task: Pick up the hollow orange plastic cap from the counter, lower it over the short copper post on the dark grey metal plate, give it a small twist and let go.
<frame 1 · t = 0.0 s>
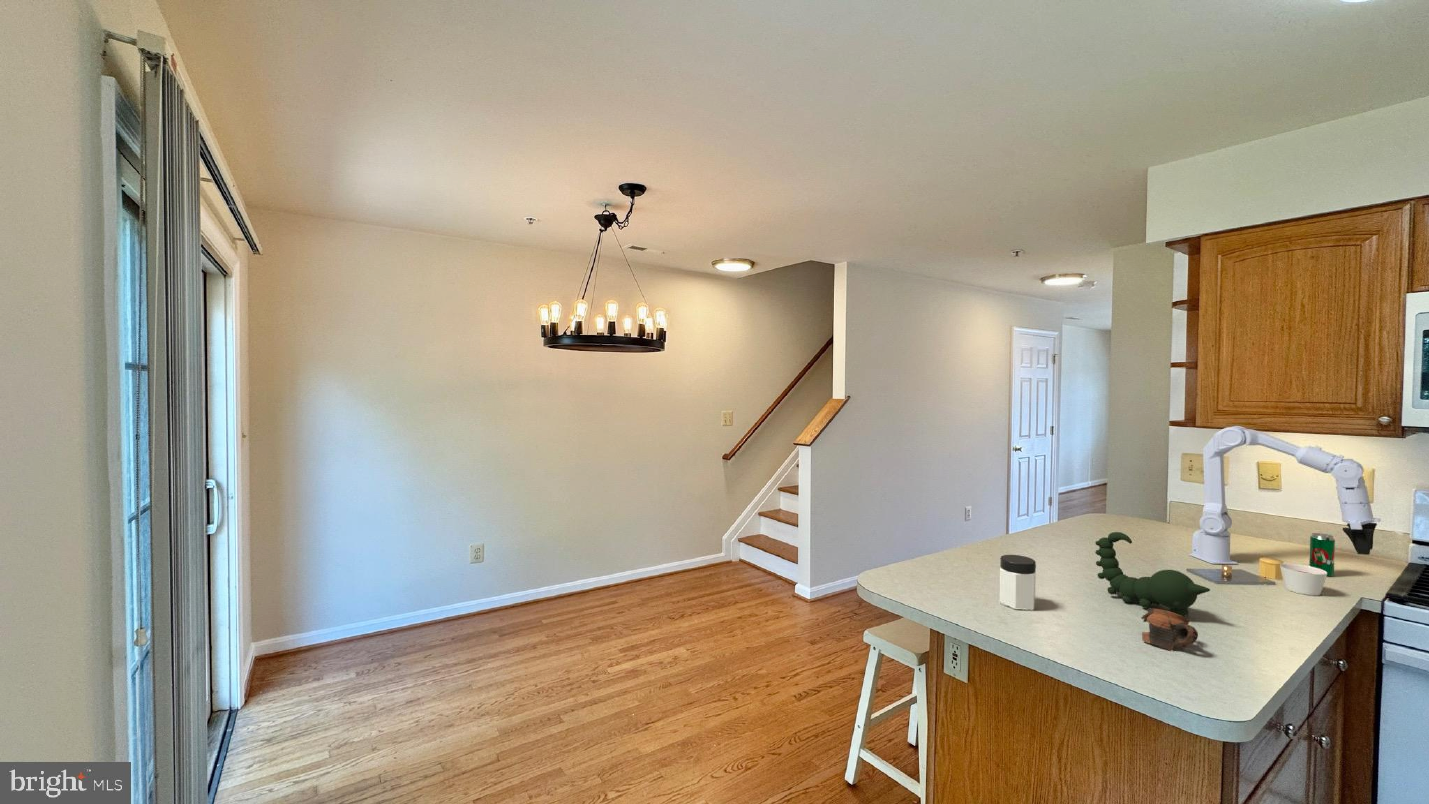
hand: (1365, 551, 155), 11 cm above the counter, tool pointing down, fingers open, 7 cm apart
toy figurine: (1148, 607, 144), on the counter
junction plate: (1229, 577, 165), on the counter
soda can: (1321, 574, 168), on the counter
candle: (1302, 592, 154), on the counter
orange cap: (1270, 576, 166), on the counter
jar: (1017, 605, 146), on the counter
pottery mug: (1169, 645, 124), on the counter
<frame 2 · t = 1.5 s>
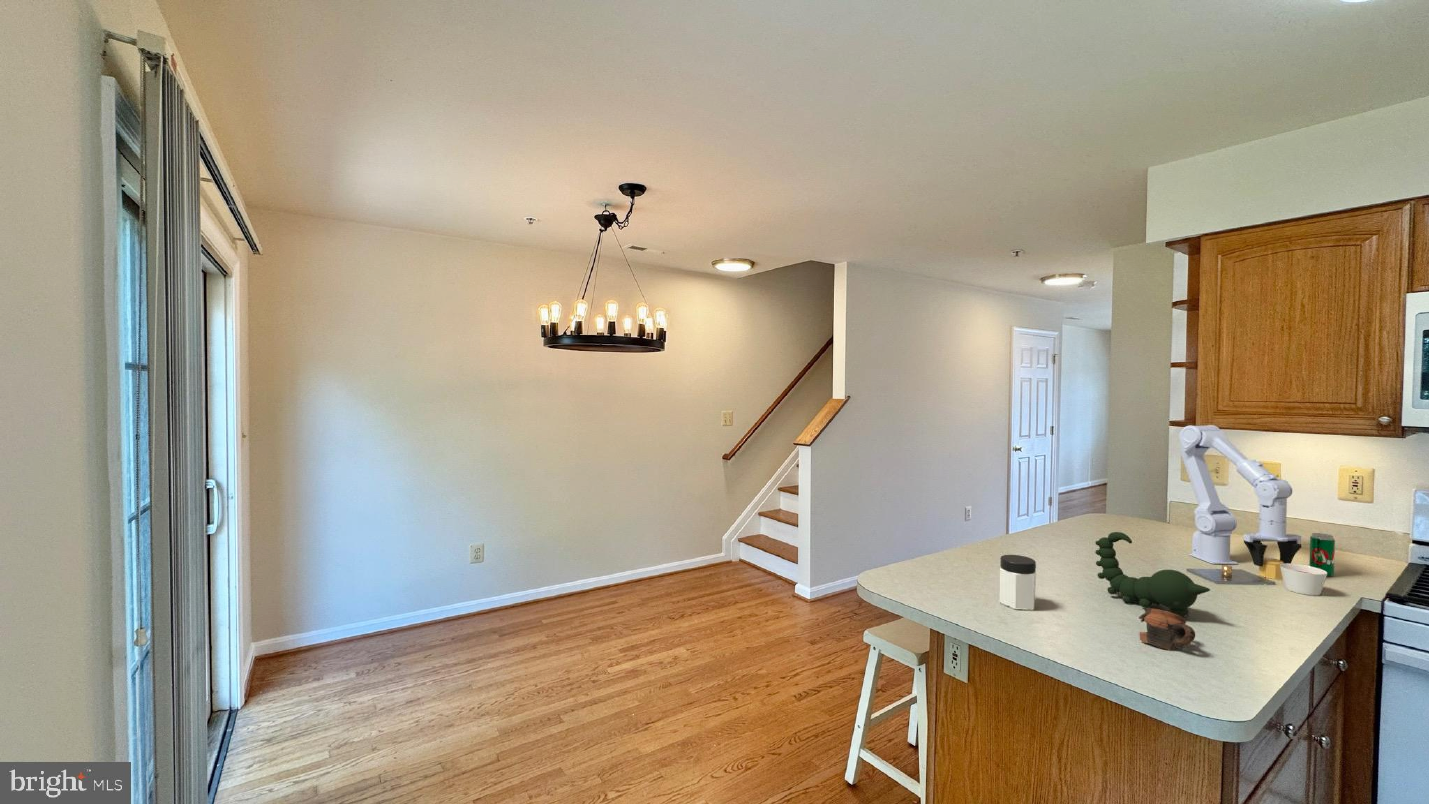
hand: (1271, 565, 166), 3 cm above the counter, tool pointing down, fingers open, 7 cm apart
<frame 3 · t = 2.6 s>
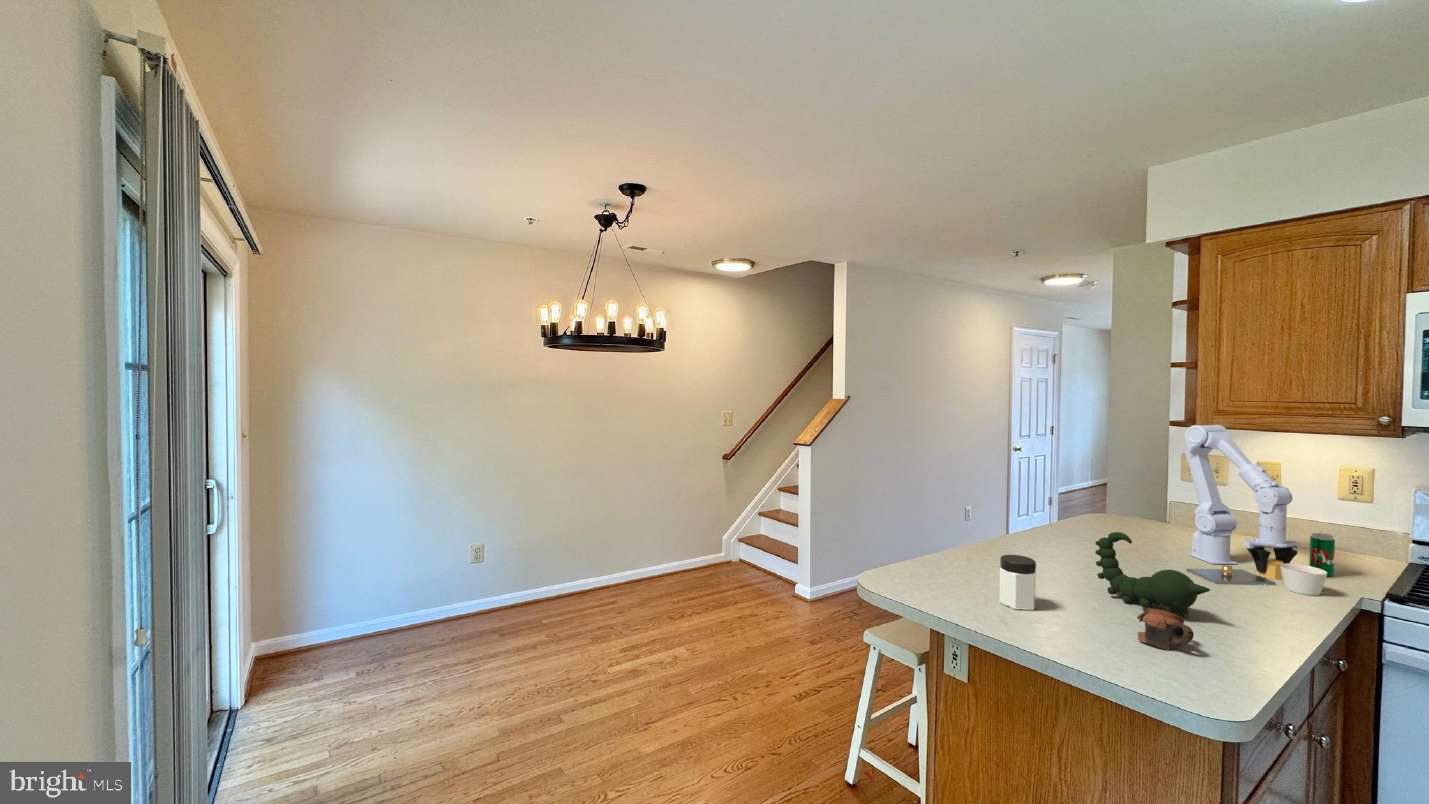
hand: (1271, 572, 166), 1 cm above the counter, tool pointing down, fingers closed on orange cap, 5 cm apart
orange cap: (1270, 576, 166), on the counter, touching gripper
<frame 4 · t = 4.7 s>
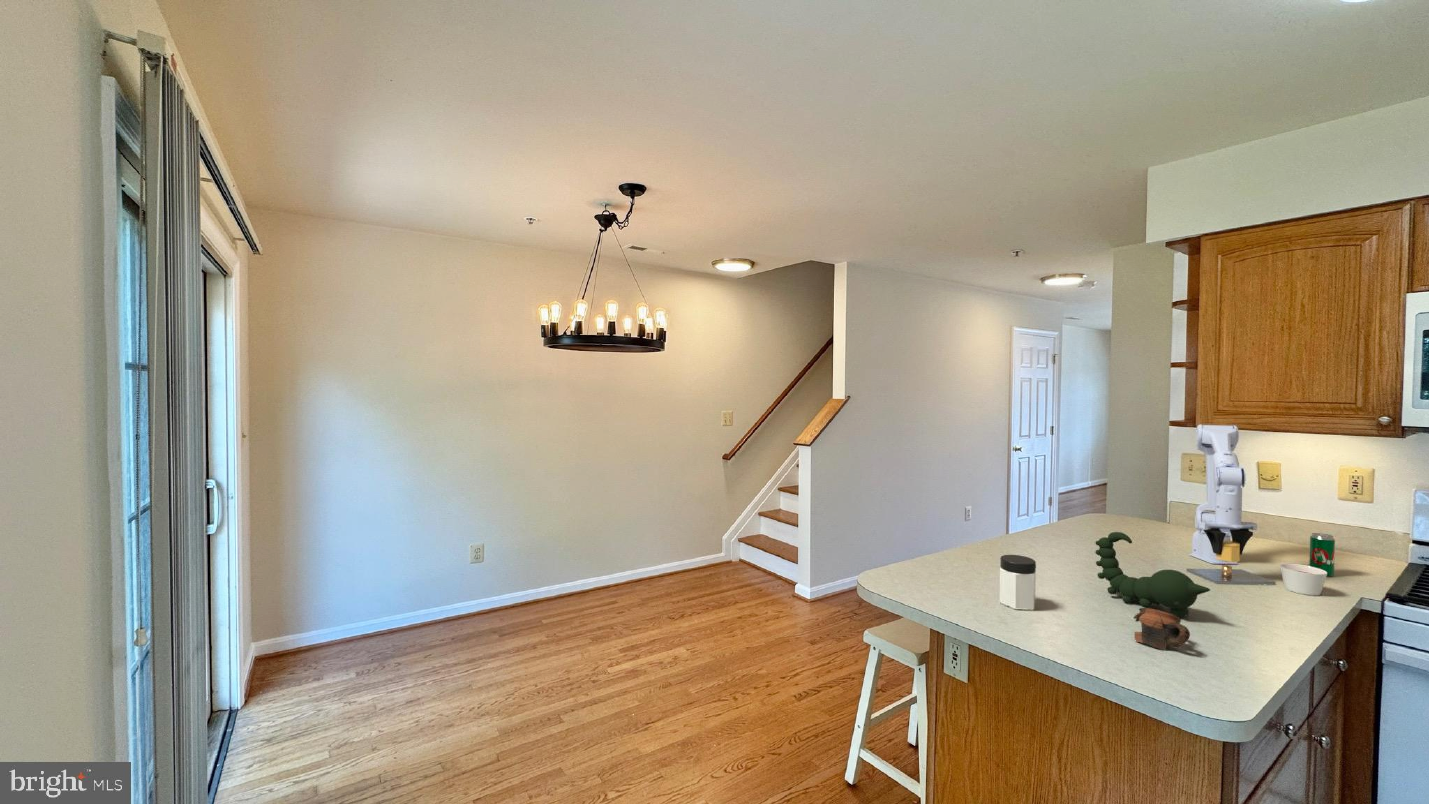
hand: (1227, 553, 163), 8 cm above the counter, tool pointing down, fingers closed on orange cap, 5 cm apart
orange cap: (1227, 559, 163), point 6 cm above the counter, touching gripper
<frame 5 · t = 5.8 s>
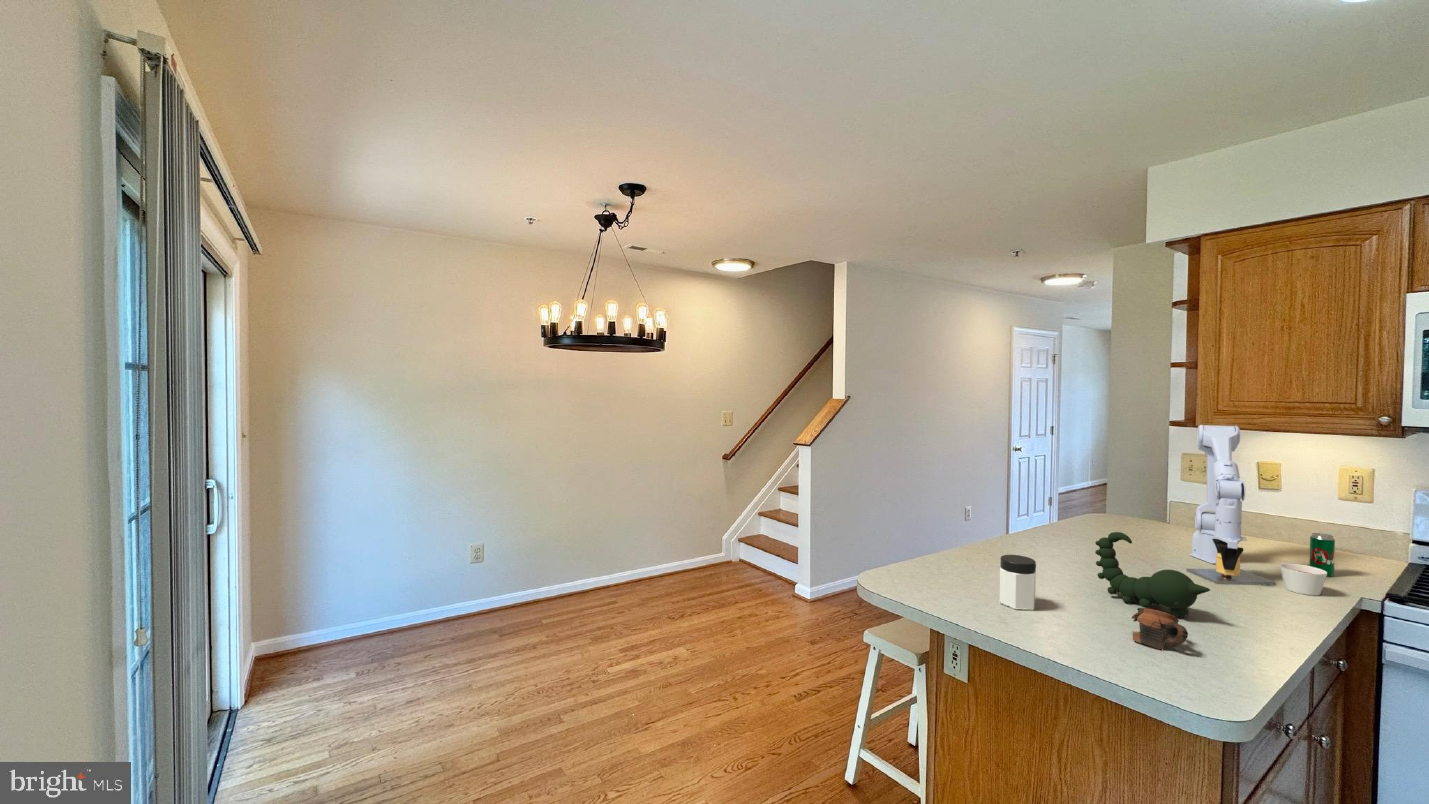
hand: (1226, 567, 164), 4 cm above the counter, tool pointing down, fingers closed on orange cap, 5 cm apart
orange cap: (1227, 572, 163), point 2 cm above the counter, touching gripper
when the fingers open (4 cm above the counter, at t = 6.8 s): orange cap drops 1 cm, resting on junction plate.
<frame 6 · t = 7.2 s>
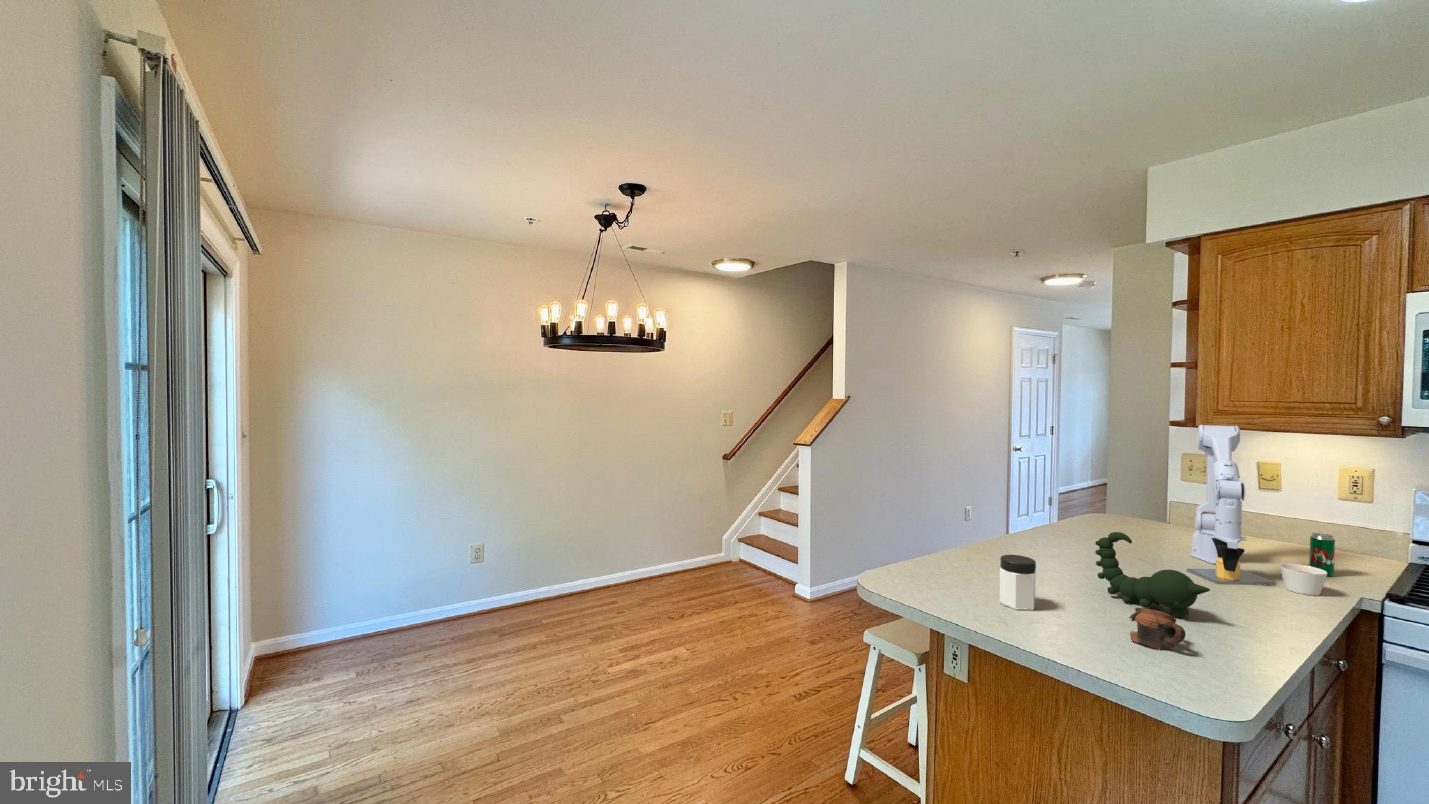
hand: (1226, 567, 164), 4 cm above the counter, tool pointing down, fingers open, 7 cm apart
orange cap: (1227, 576, 163), point 1 cm above the counter, touching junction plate
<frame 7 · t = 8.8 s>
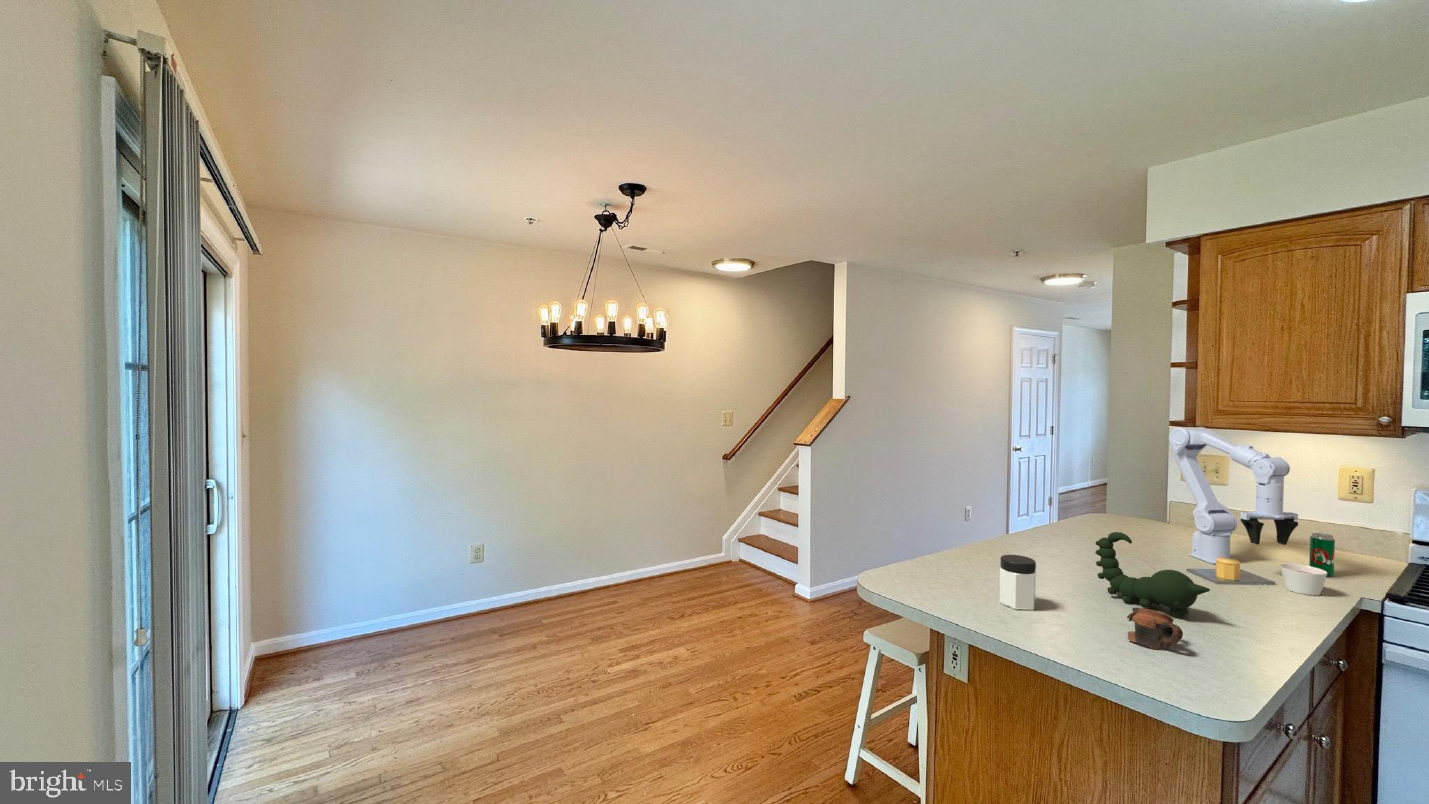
hand: (1268, 543, 165), 10 cm above the counter, tool pointing down, fingers open, 7 cm apart
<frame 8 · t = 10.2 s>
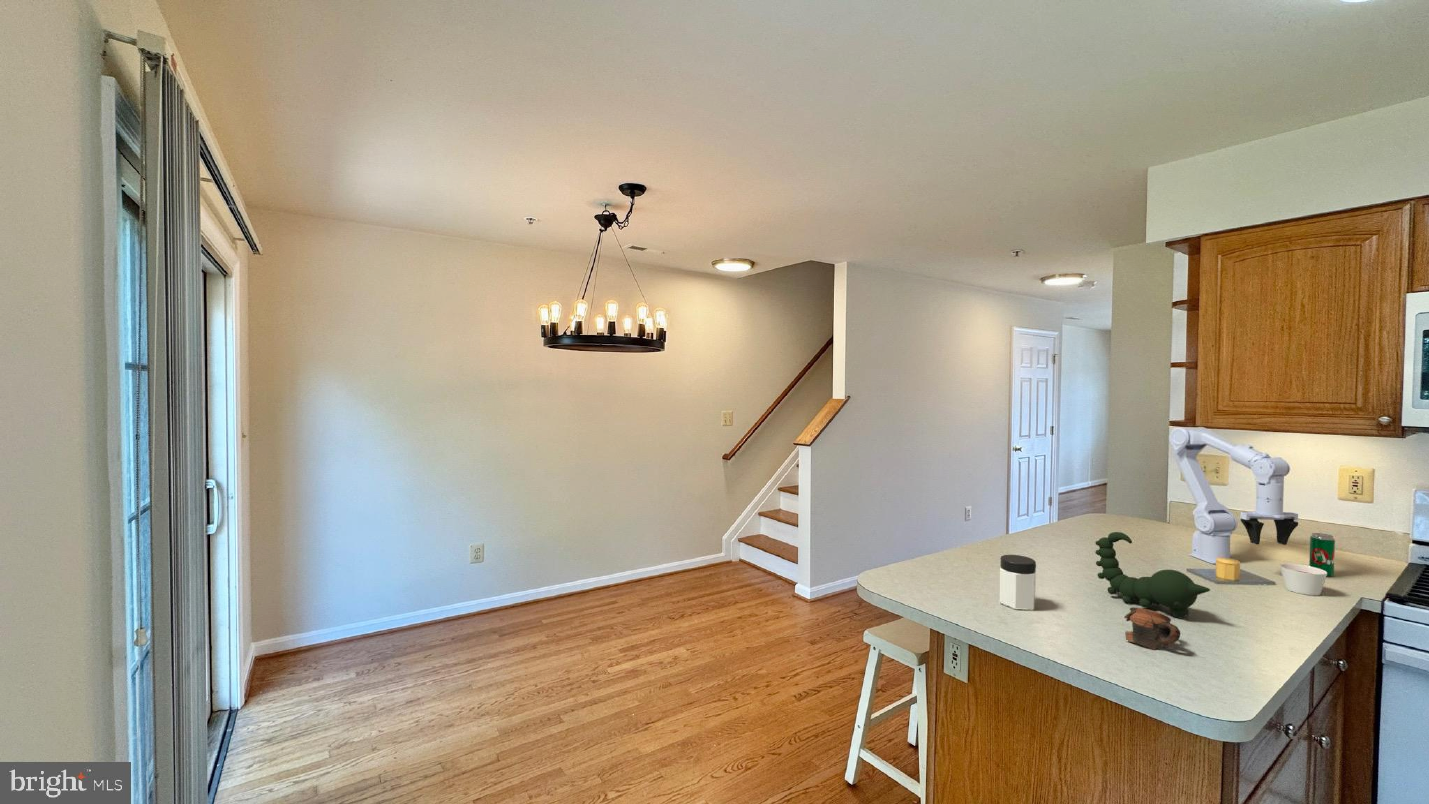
hand: (1268, 543, 165), 10 cm above the counter, tool pointing down, fingers open, 7 cm apart
at the end: orange cap 0.1 cm from the target spot on the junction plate, point 0.8 cm above the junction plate's base; orange cap tilted 0°; the gripper is holding nothing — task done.
